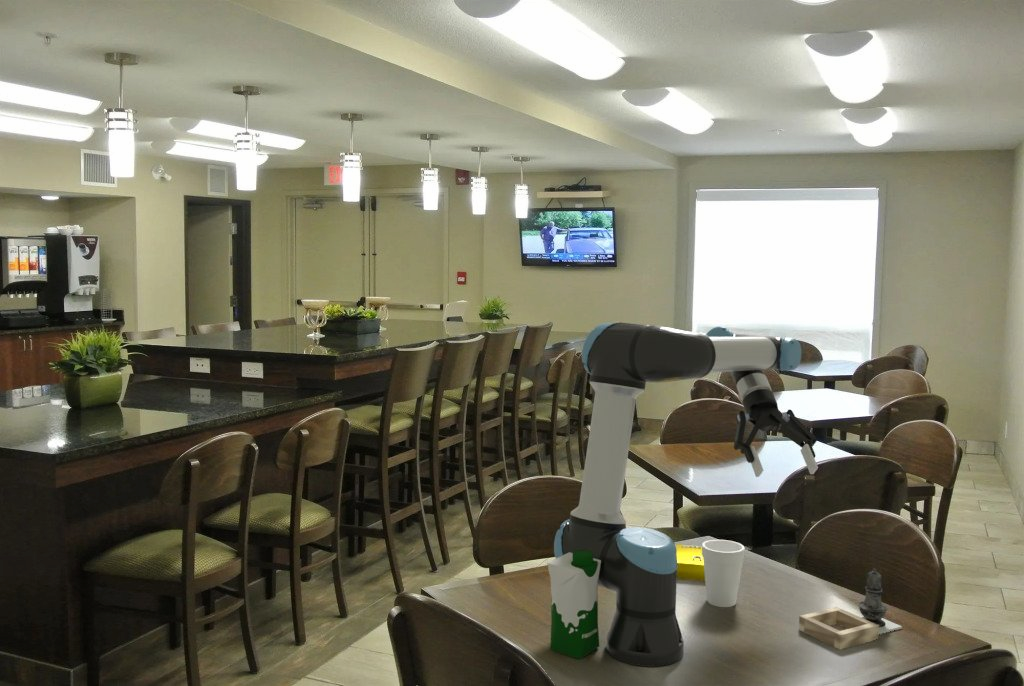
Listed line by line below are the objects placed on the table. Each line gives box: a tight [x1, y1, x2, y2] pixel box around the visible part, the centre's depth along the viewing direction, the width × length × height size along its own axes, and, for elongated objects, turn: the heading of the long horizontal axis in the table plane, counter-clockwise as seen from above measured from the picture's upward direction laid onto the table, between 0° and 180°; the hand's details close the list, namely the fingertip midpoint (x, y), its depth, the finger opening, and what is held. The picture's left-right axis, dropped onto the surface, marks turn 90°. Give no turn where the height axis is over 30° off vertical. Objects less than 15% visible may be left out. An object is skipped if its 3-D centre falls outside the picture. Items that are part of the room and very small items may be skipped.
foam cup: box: [701, 539, 746, 608], centre depth 205 cm, size 10×9×13 cm
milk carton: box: [546, 550, 601, 660], centre depth 179 cm, size 9×9×20 cm
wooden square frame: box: [798, 606, 879, 651], centre depth 188 cm, size 11×11×3 cm
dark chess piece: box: [857, 567, 888, 627], centre depth 192 cm, size 6×6×12 cm
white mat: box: [858, 614, 903, 636], centre depth 193 cm, size 8×8×1 cm
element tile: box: [675, 543, 705, 582], centre depth 227 cm, size 15×15×5 cm
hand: (787, 472), depth 204 cm, fingers open, 13 cm apart
